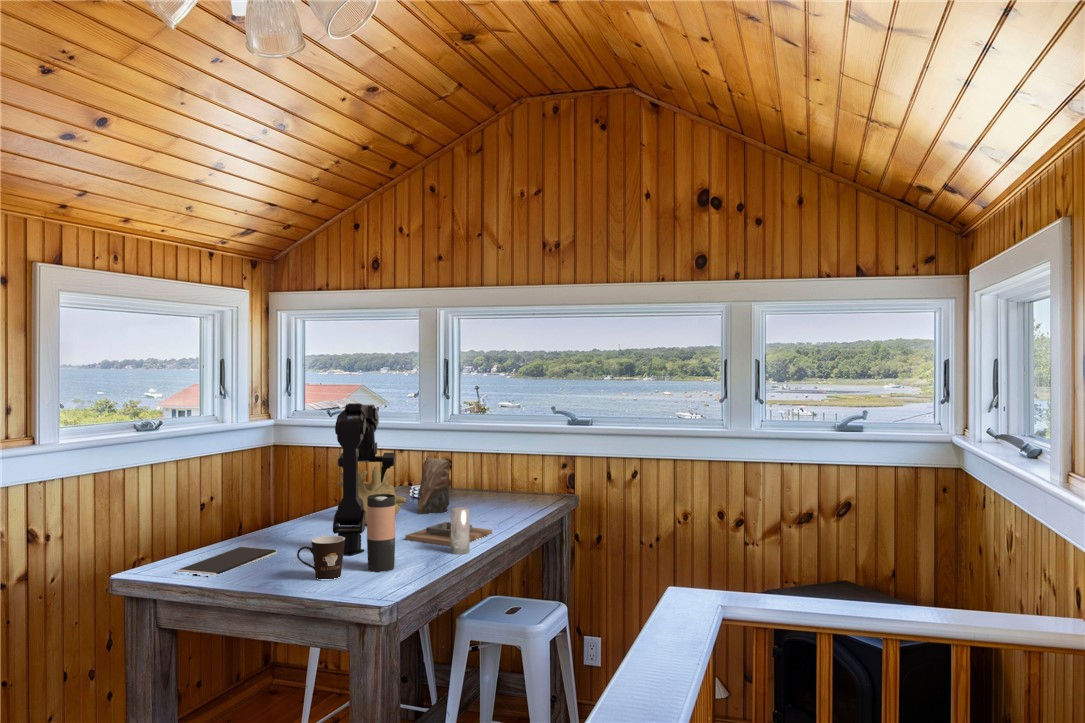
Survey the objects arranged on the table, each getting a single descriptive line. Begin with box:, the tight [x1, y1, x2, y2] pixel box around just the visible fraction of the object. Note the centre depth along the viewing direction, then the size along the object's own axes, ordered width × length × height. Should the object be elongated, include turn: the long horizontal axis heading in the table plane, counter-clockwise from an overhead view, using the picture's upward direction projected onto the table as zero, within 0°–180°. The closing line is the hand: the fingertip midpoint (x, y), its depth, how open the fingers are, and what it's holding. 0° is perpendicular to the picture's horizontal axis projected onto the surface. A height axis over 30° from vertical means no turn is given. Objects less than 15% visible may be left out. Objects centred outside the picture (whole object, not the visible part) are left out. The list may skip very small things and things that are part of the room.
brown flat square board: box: [404, 521, 493, 547], centre depth 249 cm, size 20×20×4 cm
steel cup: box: [450, 506, 470, 556], centre depth 230 cm, size 6×6×13 cm
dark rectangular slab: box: [175, 546, 278, 575], centre depth 217 cm, size 13×27×2 cm, turn 163°
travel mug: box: [366, 494, 396, 573], centre depth 212 cm, size 8×8×20 cm
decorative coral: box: [336, 465, 407, 526], centre depth 274 cm, size 26×22×25 cm
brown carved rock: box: [417, 456, 452, 515], centre depth 292 cm, size 13×13×20 cm
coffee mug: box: [296, 535, 345, 579], centre depth 203 cm, size 12×9×10 cm
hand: (368, 482), depth 263 cm, fingers open, 9 cm apart
